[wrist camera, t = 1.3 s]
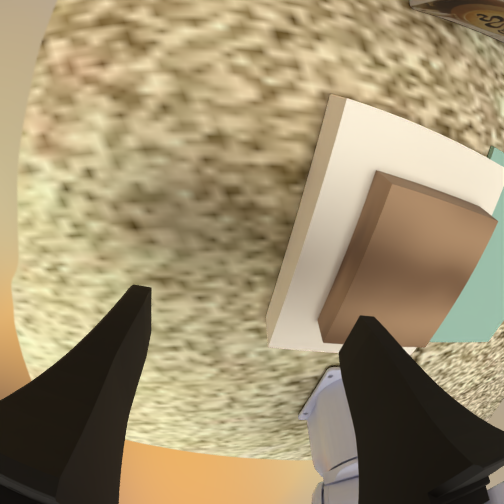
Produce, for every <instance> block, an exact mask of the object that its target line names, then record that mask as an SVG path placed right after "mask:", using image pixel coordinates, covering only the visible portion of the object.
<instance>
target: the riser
mask: <svg viewBox="0 0 504 504" xmlns="http://www.w3.org/2000/svg"><path fill="white" fill-rule="evenodd" d="M376 170H377V171H381V172H384V173H387V174H391V175H394V176H397V177H400V178H403V179H406V180H409V181H412V182H415V183H418V184H421V185H424V186H427V187H430V188H433V189H436V190H438V191H441V192H444V193H447V194H449V195H452V196H455V197H457V198H460V199H462V200H465V201H468V202H470V203H473V204H475V205H478V206H480V207H481V208H483V209H484V210H485V211H486V212H488V213H489V214H490V215H491V216H492V214H493V212H494V209H495V207H496V204H497V202H498V200H499V197H500V195H501V192H502V190H503V187H504V167H503V166H501V165H499V164H497V163H496V162H494V161H492V160H490V159H488V158H487V157H485V156H483V155H481V154H479V153H477V152H476V151H474V150H472V149H470V148H468V147H466V146H464V145H462V144H460V143H458V142H456V141H454V140H452V139H450V138H447V137H445V136H443V135H441V134H439V133H437V132H434V131H432V130H430V129H428V128H425V127H423V126H421V125H418V124H416V123H414V122H411V121H409V120H406V119H404V118H401V117H399V116H396V115H394V114H391V113H388V112H386V111H383V110H380V109H377V108H375V107H372V106H369V105H366V104H363V103H360V102H357V101H354V100H351V99H348V98H344V97H341V96H337V95H333V94H330V97H329V100H328V104H327V108H326V112H325V116H324V119H323V123H322V127H321V131H320V134H319V138H318V142H317V145H316V149H315V153H314V156H313V160H312V164H311V167H310V171H309V174H308V178H307V181H306V185H305V188H304V192H303V195H302V199H301V202H300V206H299V209H298V213H297V216H296V219H295V223H294V226H293V230H292V233H291V236H290V240H289V243H288V246H287V250H286V253H285V256H284V260H283V263H282V266H281V269H280V273H279V276H278V279H277V282H276V286H275V289H274V292H273V295H272V298H271V302H270V305H269V308H268V311H267V314H266V329H267V341H268V347H270V348H280V349H291V350H303V351H317V352H332V353H339V351H340V349H341V348H342V346H343V344H331V343H323V341H322V337H321V333H320V329H319V325H318V321H317V319H318V317H319V315H320V313H321V310H322V308H323V306H324V303H325V301H326V299H327V297H328V294H329V292H330V290H331V287H332V285H333V283H334V280H335V278H336V275H337V273H338V271H339V268H340V266H341V263H342V261H343V258H344V256H345V253H346V251H347V248H348V246H349V243H350V241H351V238H352V235H353V233H354V230H355V228H356V225H357V222H358V220H359V217H360V214H361V211H362V209H363V206H364V203H365V200H366V198H367V195H368V192H369V189H370V186H371V183H372V180H373V177H374V175H375V172H376ZM402 348H403V349H404V350H405V351H406V352H407V353H408V354H409V355H411V354H412V353H413V352H414V350H415V349H416V347H402Z"/></svg>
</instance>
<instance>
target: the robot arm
mask: <svg viewBox="0 0 504 504" xmlns="http://www.w3.org/2000/svg"><path fill="white" fill-rule="evenodd" d="M150 335H151V288H150V287H144V286H139V285H132V286H131V287H130V288H129V289H128V290H127V291H126V293H125V294H124V295H123V296H122V298H121V299H120V300H119V301H118V302H117V303H116V304H115V306H114V307H113V308H112V309H111V310H110V311H109V312H108V313H107V315H106V316H105V317H104V318H103V319H102V320H101V321H100V322H99V323H98V324H97V325H96V326H95V327H94V328H93V329H92V330H91V331H90V332H89V333H88V334H87V335H86V336H85V337H84V338H83V339H82V340H81V341H80V342H79V343H78V344H77V345H76V346H75V347H74V348H73V349H72V350H70V351H69V352H68V353H67V354H66V355H65V356H64V357H62V358H61V359H60V360H59V361H58V362H56V363H55V364H54V365H53V366H51V367H50V368H49V369H47V370H46V371H45V372H43V373H42V374H41V375H39V376H38V377H37V378H35V379H34V380H32V381H31V382H30V383H28V384H26V385H25V386H24V387H22V388H20V389H18V390H17V391H15V392H14V393H12V394H10V395H9V396H7V397H5V398H4V399H2V400H0V504H118V503H119V487H120V474H121V465H122V456H123V448H124V441H125V435H126V428H127V422H128V418H129V413H130V410H131V406H132V403H133V399H134V396H135V392H136V389H137V386H138V382H139V379H140V376H141V373H142V369H143V366H144V363H145V359H146V356H147V351H148V346H149V340H150ZM339 360H340V367H331V368H329V369H327V371H326V372H325V374H324V376H323V377H322V379H321V381H320V382H319V384H318V385H317V387H316V389H315V390H314V392H313V393H312V395H311V397H310V398H309V400H308V401H307V403H306V404H305V406H304V407H303V409H302V410H301V412H300V413H299V415H298V418H299V419H300V420H307V426H308V433H309V440H310V447H311V454H312V461H313V465H314V467H315V469H316V471H317V472H318V473H319V474H320V475H321V476H322V477H323V479H324V481H323V482H320V483H318V485H317V487H316V488H315V490H314V491H313V494H312V504H504V481H503V482H501V483H500V484H498V485H496V486H494V487H492V488H490V489H489V490H487V489H486V485H487V484H489V483H490V480H489V477H488V476H489V475H490V474H492V473H493V472H495V471H496V470H498V469H499V468H501V467H502V466H504V431H502V430H500V429H498V428H496V427H494V426H492V425H491V424H489V423H487V422H486V421H484V420H482V419H481V418H479V417H478V416H476V415H475V414H473V413H472V412H470V411H469V410H468V409H466V408H465V407H464V406H462V405H461V404H460V403H458V402H457V401H456V400H455V399H453V398H452V397H451V396H450V395H449V394H447V393H446V392H445V391H444V390H443V389H442V388H441V387H440V386H439V385H437V384H436V383H435V382H434V381H433V380H432V379H431V378H430V377H429V376H428V375H427V374H426V373H425V372H424V371H423V369H422V368H421V367H420V366H419V365H418V364H417V363H416V362H415V361H414V360H413V359H412V358H411V357H410V355H409V354H408V353H407V352H406V351H405V350H404V349H403V348H402V346H401V345H400V344H399V343H398V342H397V341H396V340H395V338H394V337H393V336H392V335H391V334H390V333H389V332H388V331H387V329H386V328H385V327H384V326H383V325H382V324H381V323H380V322H379V321H378V320H377V319H376V318H375V317H374V316H363V315H360V316H359V318H358V319H357V321H356V323H355V325H354V327H353V328H352V330H351V332H350V334H349V335H348V337H347V339H346V341H345V342H344V344H343V346H342V348H341V349H340V351H339Z"/></svg>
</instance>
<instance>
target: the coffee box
mask: <svg viewBox="0 0 504 504" xmlns="http://www.w3.org/2000/svg"><path fill="white" fill-rule="evenodd" d="M409 1H410V6H411V7H412V8H413V9H414V10H418V11H421V12H424V13H428V14H431V15H434V16H437V17H440V18H443V19H446V20H449V21H452V22H455V23H458V24H461V25H463V26H466V27H469V28H471V29H474V30H476V31H479V32H481V33H483V34H486V35H488V36H490V37H493V38H495V39H497V40H499V41H501V42H503V43H504V0H409Z"/></svg>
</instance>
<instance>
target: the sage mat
mask: <svg viewBox="0 0 504 504" xmlns="http://www.w3.org/2000/svg"><path fill="white" fill-rule="evenodd" d="M487 158H488V159H490V160H492V161H494V162H496V163H497V164H499V165H501V166H503V167H504V153H503V152H501V151H500V150H498V149H497V148H495V147H493V146H491V148H490V151H489V154H488V157H487ZM492 217H494V218H495V219H496V220H497V221H498V223H497V225H496V228H495V230H494V232H493V234H492V236H491V238H490V240H489V242H488V244H487V246H486V248H485V250H484V252H483V254H482V256H481V258H480V260H479V262H478V264H477V266H476V267H475V269H474V271H473V273H472V275H471V276H470V278H469V280H468V282H467V283H466V285H465V287H464V289H463V290H462V292H461V294H460V295H459V297H458V299H457V300H456V302H455V304H454V305H453V307H452V308H451V310H450V311H449V313H448V315H447V316H446V318H445V319H444V321H443V322H442V324H441V325H440V327H439V328H438V330H437V331H436V333H435V334H434V335H433V337H432V338H431V340H430V341H429V342H488V341H489V340H490V338H491V337H492V336H493V334H494V333H495V332H496V330H497V329H498V327H499V326H500V325H501V323H502V322H503V320H504V187H503V190H502V192H501V195H500V197H499V200H498V202H497V204H496V207H495V209H494V212H493V214H492Z"/></svg>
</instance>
